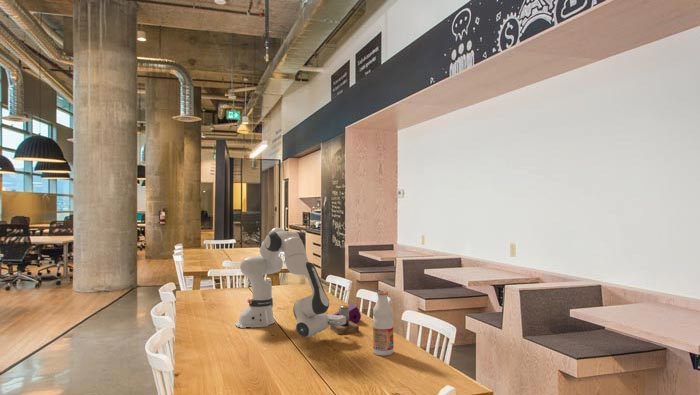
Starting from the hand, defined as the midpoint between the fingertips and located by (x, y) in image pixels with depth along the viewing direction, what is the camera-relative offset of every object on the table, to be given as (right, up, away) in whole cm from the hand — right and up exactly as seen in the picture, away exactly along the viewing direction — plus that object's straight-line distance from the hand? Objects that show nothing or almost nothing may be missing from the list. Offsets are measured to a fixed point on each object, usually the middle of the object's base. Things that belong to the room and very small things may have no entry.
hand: (334, 315), depth 237 cm
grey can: (+5, -7, +9) cm, 13 cm away
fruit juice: (+24, -10, -29) cm, 38 cm away
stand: (+5, -10, +9) cm, 15 cm away
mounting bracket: (+4, -11, +26) cm, 29 cm away
